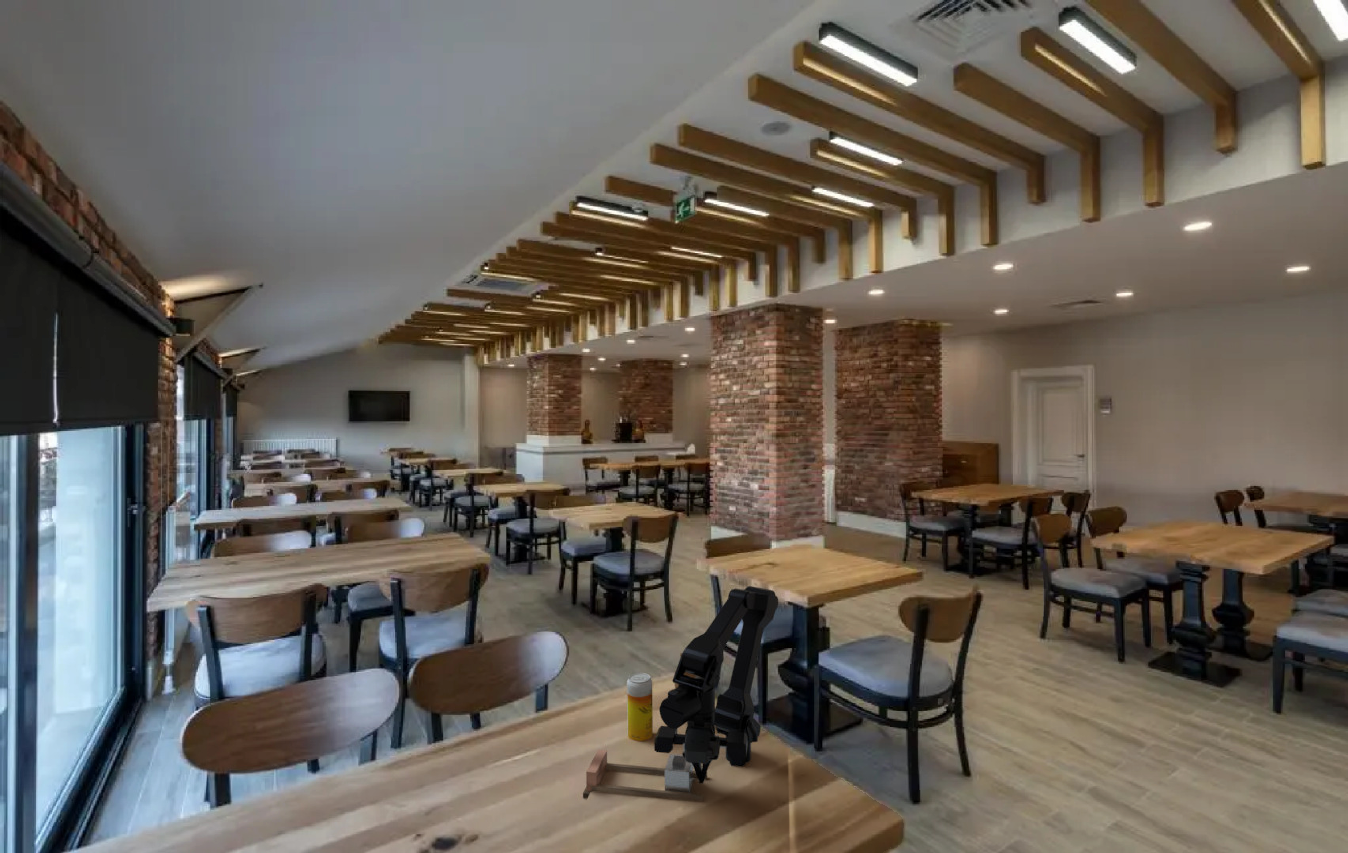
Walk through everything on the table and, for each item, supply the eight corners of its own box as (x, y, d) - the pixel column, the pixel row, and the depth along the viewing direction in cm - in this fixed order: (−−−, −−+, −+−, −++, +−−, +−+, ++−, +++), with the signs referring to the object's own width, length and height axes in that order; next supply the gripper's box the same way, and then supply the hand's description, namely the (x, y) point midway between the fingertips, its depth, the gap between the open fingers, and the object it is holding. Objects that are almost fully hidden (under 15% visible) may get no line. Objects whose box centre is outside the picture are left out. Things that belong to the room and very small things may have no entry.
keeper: (670, 777, 133) (669, 750, 133) (693, 779, 132) (693, 752, 132) (664, 794, 127) (664, 766, 127) (689, 796, 126) (688, 768, 126)
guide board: (597, 769, 138) (596, 747, 138) (709, 780, 134) (709, 757, 133) (583, 797, 128) (582, 773, 128) (704, 810, 124) (704, 785, 123)
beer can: (652, 745, 147) (651, 683, 147) (626, 745, 147) (625, 683, 147) (653, 732, 153) (652, 672, 153) (628, 732, 154) (628, 672, 153)
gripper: (648, 724, 122) (649, 802, 122) (744, 731, 119) (745, 811, 119) (659, 697, 133) (659, 769, 133) (747, 703, 130) (747, 777, 130)
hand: (701, 782), depth 129 cm, fingers closed
